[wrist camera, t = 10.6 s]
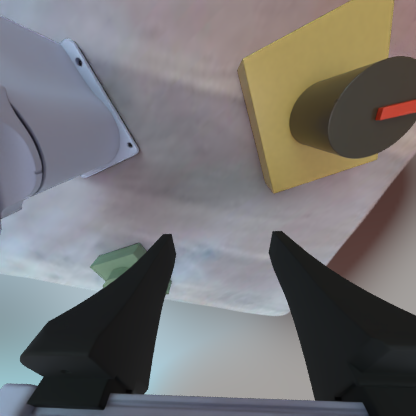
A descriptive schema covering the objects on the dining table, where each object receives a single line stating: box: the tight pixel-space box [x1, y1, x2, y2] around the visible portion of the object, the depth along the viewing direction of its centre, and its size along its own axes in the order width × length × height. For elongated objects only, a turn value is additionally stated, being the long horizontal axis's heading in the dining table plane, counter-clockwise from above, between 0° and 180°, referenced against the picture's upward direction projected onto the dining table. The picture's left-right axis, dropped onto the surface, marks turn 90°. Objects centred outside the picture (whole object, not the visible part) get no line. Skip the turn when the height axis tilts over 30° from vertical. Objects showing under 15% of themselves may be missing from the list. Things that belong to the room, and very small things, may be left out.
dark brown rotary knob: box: [289, 56, 416, 159], centre depth 10 cm, size 4×4×5 cm
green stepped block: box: [90, 243, 171, 294], centre depth 25 cm, size 10×8×4 cm
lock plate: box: [237, 0, 394, 193], centre depth 14 cm, size 11×9×3 cm
